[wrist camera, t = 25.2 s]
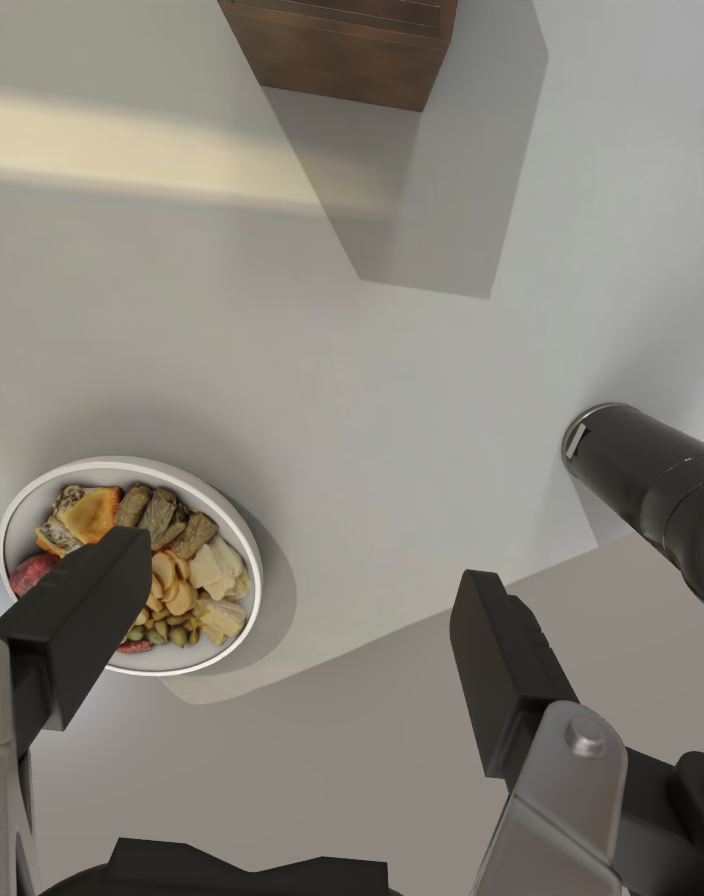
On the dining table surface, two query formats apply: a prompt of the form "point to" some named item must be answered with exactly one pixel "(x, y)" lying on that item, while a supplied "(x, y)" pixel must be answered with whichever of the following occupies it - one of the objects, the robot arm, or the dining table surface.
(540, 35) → the dining table surface
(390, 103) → the shelf stand
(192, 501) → the bowl
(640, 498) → the robot arm
